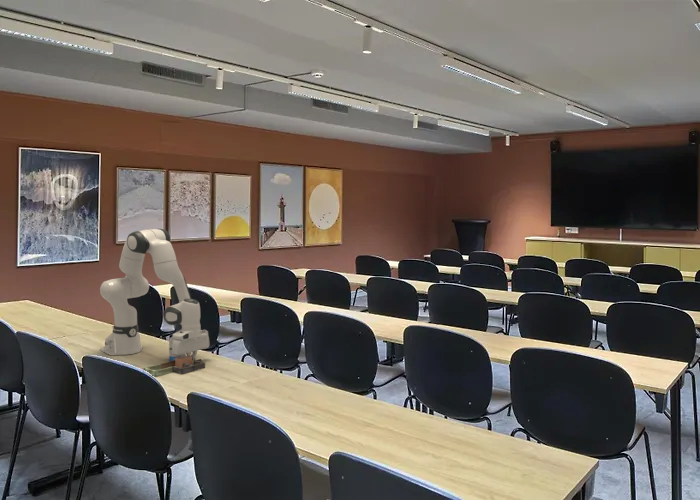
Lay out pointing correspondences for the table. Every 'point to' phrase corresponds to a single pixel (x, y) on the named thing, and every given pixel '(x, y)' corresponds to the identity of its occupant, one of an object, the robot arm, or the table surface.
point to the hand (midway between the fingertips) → (191, 360)
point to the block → (183, 361)
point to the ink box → (171, 355)
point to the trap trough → (174, 368)
